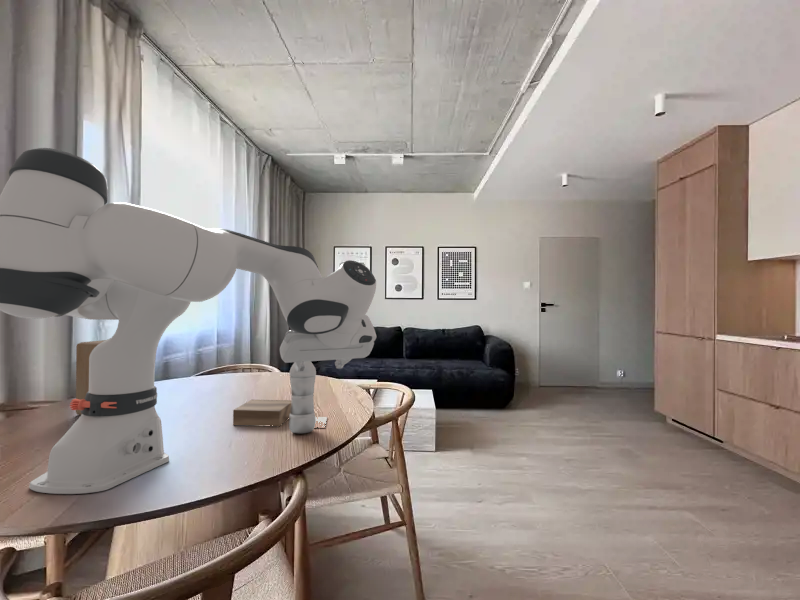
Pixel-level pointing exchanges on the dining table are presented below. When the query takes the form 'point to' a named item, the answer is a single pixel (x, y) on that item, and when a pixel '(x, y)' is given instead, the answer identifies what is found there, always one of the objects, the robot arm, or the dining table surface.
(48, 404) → the dining table surface
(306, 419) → the plastic bottle
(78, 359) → the block
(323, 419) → the page
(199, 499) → the dining table surface
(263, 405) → the base block
